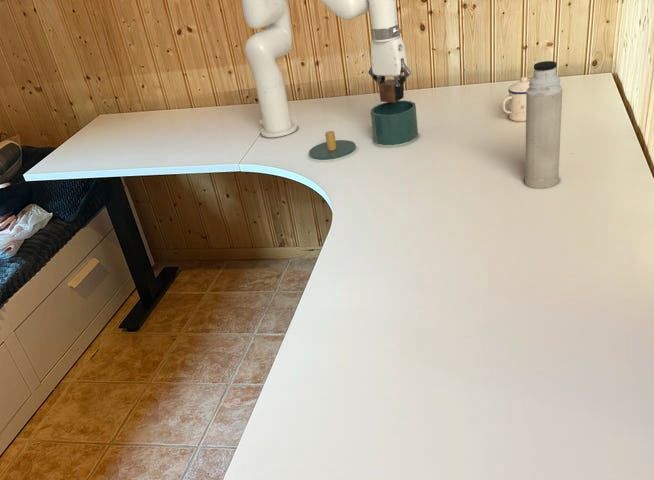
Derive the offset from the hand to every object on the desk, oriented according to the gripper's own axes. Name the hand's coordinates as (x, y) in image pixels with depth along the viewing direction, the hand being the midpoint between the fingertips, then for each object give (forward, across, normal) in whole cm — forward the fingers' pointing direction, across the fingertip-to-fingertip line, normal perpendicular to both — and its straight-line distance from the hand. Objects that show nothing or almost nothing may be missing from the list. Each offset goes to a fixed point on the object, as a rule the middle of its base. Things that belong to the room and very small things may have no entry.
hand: (391, 98), depth 200 cm
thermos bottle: (+13, -55, +16) cm, 59 cm away
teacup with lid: (+13, -29, -25) cm, 40 cm away
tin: (+12, 0, 0) cm, 12 cm away
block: (0, 0, 0) cm, 0 cm away
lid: (+12, +13, +15) cm, 23 cm away
